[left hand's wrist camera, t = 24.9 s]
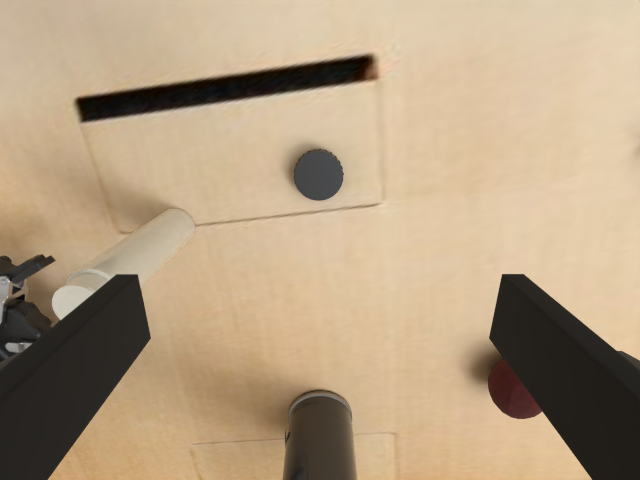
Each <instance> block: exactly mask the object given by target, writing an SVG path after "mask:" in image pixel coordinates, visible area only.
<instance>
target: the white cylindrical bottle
mask: <svg viewBox="0 0 640 480" xmlns="http://www.w3.org/2000/svg"><path fill="white" fill-rule="evenodd" d="M194 232H195V224H194V221H193V219H192V217H191V216H190V215H189V214H188V213H187V212H185V211H183V210H181V209H176V208H172V209H168V210H166V211H164V212H163V213H161V214H160V215H158V216H157V217H155V218H154V219H152V220H151V221H149V222H148V223H146V224H145V225H143V226H142V227H140V228H139V229H137V230H136V231H134V232H133V233H132V234H130V235H129V236H127V237H126V238H124V239H123V240H121V241H120V242H118V243H117V244H115V245H114V246H112V247H111V248H109V249H108V250H106V251H105V252H103V253H102V254H100V255H99V256H97V257H96V258H94V259H93V260H91V261H90V262H88V263H87V264H86V265H84V266H83V267H81V268H80V269H78V270H77V271H75V272H74V273H72V274H71V275H70V276H69V278H68V279H67V282H66V284H65V285H64V286H62V287H61V288H59V289H58V290H57V291H56V292H55V293H54V295H53V298H52V307H53V310H54V312H55V314H56V316H57V317H58V318H59V319H60V320H62V319H63V318H64V317H65V316H66V315H68V314H69V313H70V312H71V311H73V310H74V309H75V308H76V307H77V306H79V305H80V304H81V303H82V302H83V301H85V300H86V299H87V298H88V297H90V296H91V295H92V294H93V293H94V292H96V291H97V290H98V289H99V288H100V287H102V286H103V285H104V284H105V283H106V282H108V281H109V280H110V279H111V278H113V277H114V276H115V275H116V274H138V278H139V283H140V287H141V289H142V288H143V287H144V286H145V285H146V284H147V283H148V282H149V281H150V280H151V279H152V278H153V277H154V276H155V275H156V274H157V273H158V272H159V271H160V269H161V268H162V267H163V266H164V265H165V264H166V263H167V262H168V261H169V260H170V259H171V258H172V257H173V256H174V255H175V254H176V253H177V252H178V251H179V250H180V249H181V248H182V247H183V246H184V245H185V244H186V243H187V242H188V241H189V240H190V239H191V238H192V237H193V235H194Z"/></svg>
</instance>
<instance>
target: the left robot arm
mask: <svg viewBox="0 0 640 480" xmlns="http://www.w3.org/2000/svg"><path fill="white" fill-rule="evenodd" d="M150 339H151V337H150V332H149V327H148V322H147V317H146V312H145V307H144V302H143V297H142V292H141V287H140V283H139V278H138V274H116V275H115V276H114V277H113V278H111V279H110V280H109V281H108V282H106V283H105V284H104V285H103V286H102V287H100V288H99V289H98V290H97V291H96V292H94V293H93V294H92V295H91V296H90V297H88V298H87V299H86V300H85V301H83V302H82V303H81V304H80V305H79V306H77V307H76V308H75V309H74V310H73V311H71V312H70V313H69V314H68V315H66V316H65V317H64V318H63V319H62V320H60V321H59V322H58V323H57V324H56V325H54V326H53V327H52V328H51V329H49V330H48V331H47V332H46V333H45V334H43V335H42V336H41V337H40V338H39V339H37V340H36V341H35V342H34V343H32V344H31V345H30V346H29V347H28V348H26V349H25V350H24V351H23V352H18V353H16V354H15V355H13V356H11V357H9V358H7V359H5V360H3V361H2V362H0V480H48V478H49V477H50V476H51V474H52V473H53V472H54V470H55V469H56V467H57V466H58V465H59V463H60V462H61V461H62V459H63V458H64V456H65V455H66V454H67V452H68V451H69V450H70V448H71V447H72V446H73V444H74V443H75V441H76V440H77V439H78V437H79V436H80V435H81V433H82V432H83V430H84V429H85V428H86V426H87V425H88V424H89V422H90V421H91V420H92V418H93V417H94V415H95V414H96V413H97V411H98V410H99V409H100V407H101V406H102V404H103V403H104V402H105V400H106V399H107V398H108V396H109V395H110V393H111V392H112V391H113V389H114V388H115V387H116V385H117V384H118V383H119V381H120V380H121V378H122V377H123V376H124V374H125V373H126V372H127V370H128V369H129V367H130V366H131V365H132V363H133V362H134V361H135V359H136V358H137V357H138V355H139V354H140V352H141V351H142V350H143V348H144V347H145V346H146V344H147V343H148V341H149V340H150ZM489 339H490V340H491V341H492V343H493V344H494V346H495V347H496V348H497V350H498V351H499V352H500V354H501V355H502V357H503V358H504V359H505V361H506V362H507V363H508V365H509V366H510V367H511V369H512V370H513V372H514V373H515V374H516V376H517V377H518V378H519V380H520V381H521V383H522V384H523V385H524V387H525V388H526V389H527V391H528V392H529V393H530V395H531V396H532V398H533V399H534V400H535V402H536V403H537V404H538V406H539V407H540V409H541V410H542V411H543V413H544V414H545V415H546V417H547V418H548V420H549V421H550V422H551V424H552V425H553V426H554V428H555V429H556V430H557V432H558V433H559V435H560V436H561V437H562V439H563V440H564V441H565V443H566V444H567V446H568V447H569V448H570V450H571V451H572V452H573V454H574V455H575V456H576V458H577V459H578V461H579V462H580V463H581V465H582V466H583V467H584V469H585V470H586V472H587V473H588V474H589V476H590V477H591V478H592V480H640V361H639V360H637V359H636V358H634V357H632V356H630V355H628V354H626V353H625V352H623V351H616V350H615V349H614V348H612V347H611V346H610V345H609V344H608V343H606V342H605V341H604V340H603V339H601V338H600V337H599V336H598V335H597V334H595V333H594V332H593V331H592V330H591V329H589V328H588V327H587V326H586V325H584V324H583V323H582V322H581V321H580V320H578V319H577V318H576V317H575V316H574V315H572V314H571V313H570V312H569V311H567V310H566V309H565V308H564V307H563V306H561V305H560V304H559V303H558V302H557V301H555V300H554V299H553V298H552V297H550V296H549V295H548V294H547V293H546V292H544V291H543V290H542V289H541V288H540V287H538V286H537V285H536V284H535V283H534V282H532V281H531V280H530V279H529V278H527V277H526V276H525V275H524V274H502V278H501V283H500V287H499V292H498V297H497V302H496V307H495V312H494V317H493V322H492V327H491V332H490V337H489Z"/></svg>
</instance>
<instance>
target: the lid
mask: <svg viewBox="0 0 640 480" xmlns="http://www.w3.org/2000/svg"><path fill="white" fill-rule="evenodd" d="M342 169H343V168H342V166H341V165H340V161H338V159H337V157H336V156H334V155H333V154H332V153H330V152H328V151H326V150H321V149H320V150H315V149H314V150H312V151H310V152H309V151H308V152H307V153H306V154H303V156H302V157H301V158H300V159H299V162H298V163H297V164H296V169H295V170H294V172H295V173H294V179H295V184H296V186H297V188H298V190H299V191H300V192H301V193H302V194H303V195H304V196H305V197H307V198H309V199H312V200H326V199H328V198H330V197H332V196H334V195H335V194H336V193H337V192H338V190H339V189H340V187H341V185H342V182H343V175H344V174H343V171H342Z"/></svg>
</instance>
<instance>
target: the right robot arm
mask: <svg viewBox="0 0 640 480" xmlns="http://www.w3.org/2000/svg"><path fill="white" fill-rule="evenodd" d="M54 261H56V260H55V259H54V258H53V257H52V256H49V257H47V258H45V257H44V256H43V254H42V255H37V256H35V257H33V258H31V259H29V260H27V261H26V262H24V263H22V264H21V265H19V266H15V265H13V264H11V263H12V262H11V259H10V258H9V257H7V256H1V257H0V362H2V361H3V360H5V359H7V358H9V357H11V356H13V355H15V354H16V353H18V352H23V351H24V350H25V349H26V348H28V347H29V346H30V345H31V344H32V343H34V342H35V341H36V340H37V339H39V338H40V337H41V336H42V335H43V334H45V333H46V332H47V331H48V330H49V329H51V328H52V327H53V326H54V325H51V323H52V322H51V321H50V320H49V319H48V318H47V317H46V316H44V315H43V314H41V313H40V311H39V309H38V308H37V306H36V305H35V304H34V303H33V302H31V303H29V302H28V295H29V286H27V279H28V277H30V276H31V275H33V274H35V273H36V272H38V271H40V270H41V269H43V268H44V267H46V266H48V265H49V264H51V263H53V262H54ZM285 445H286V451H285V461H284V471H283V480H357V470H356V460H355V450H354V440H353V430H352V413H351V409H350V406H349V404H348V403H347V402H346V401H345V400H344V399H343V398H342V397H340V396H339V395H337V394H334V393H331V392H327V391H313V392H309V393H306V394H304V395H302V396H300V397H298V398H297V399H296V400H295V401H294V402H293V403H292V405H291V407H290V409H289V416H288V433H287V441H286V431H285Z"/></svg>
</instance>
